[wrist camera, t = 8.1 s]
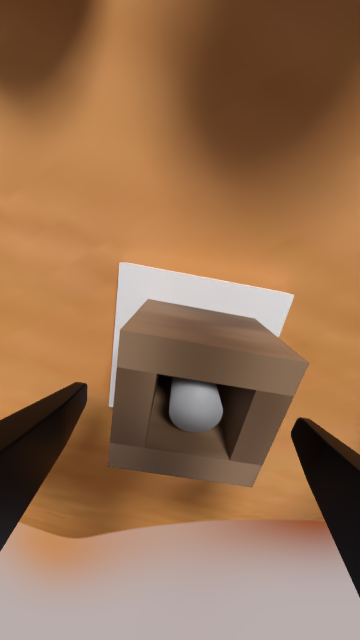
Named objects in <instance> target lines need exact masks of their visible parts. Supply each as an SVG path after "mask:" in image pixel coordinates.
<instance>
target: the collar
mask: <svg viewBox="0 0 360 640" xmlns="http://www.w3.org/2000/svg"><path fill="white" fill-rule="evenodd" d="M308 365H309V362H308V361H306V360H305V359H304V358H303V357H301V356H300V355H299V354H298V353H297V352H295V351H294V350H293V349H292V348H290V347H289V346H288V345H287V344H285V343H284V342H283V341H282V340H281V339H279V338H278V337H277V336H276V335H274V334H273V333H272V332H271V331H270V330H268V329H267V328H266V327H265V326H263V325H262V324H261V323H260V322H258V321H257V320H256V319H255V318H250V317H245V316H239V315H234V314H228V313H223V312H217V311H212V310H206V309H201V308H195V307H190V306H184V305H179V304H173V303H168V302H163V301H157V300H152V299H147V301H146V302H145V303H144V304H143V305H142V306H141V307H140V308H139V309H138V310H137V312H136V313H135V314H134V315H133V316H132V317H131V318H130V319H129V320H128V321H127V323H126V324H125V325H124V326H123V327H122V328H121V329H120V335H119V347H118V358H117V370H116V381H115V392H114V404H113V415H112V427H111V438H110V450H109V461H108V467H114V468H121V469H128V470H135V471H142V472H149V473H156V474H163V475H170V476H177V477H184V478H191V479H197V480H204V481H211V482H218V483H225V484H232V485H239V486H246V487H253V485H254V482H255V480H256V478H257V476H258V474H259V471H260V469H261V467H262V465H263V463H264V461H265V458H266V456H267V454H268V452H269V450H270V447H271V445H272V443H273V441H274V439H275V437H276V434H277V432H278V430H279V428H280V426H281V423H282V421H283V419H284V417H285V415H286V413H287V410H288V408H289V406H290V404H291V402H292V399H293V397H294V395H295V393H296V391H297V389H298V386H299V384H300V382H301V380H302V378H303V375H304V373H305V371H306V369H307V367H308ZM159 374H162V375H168V376H174V377H180V378H186V379H192V380H198V381H204V382H210V383H216V385H217V389H218V393H219V397H220V400H221V404H222V408H223V414H222V417H221V420H220V421H219V423H218V424H217V425H216V426H214V427H213V428H211V429H210V430H207V431H204V432H198V433H193V432H187V431H184V430H182V429H180V428H178V427H177V426H176V425H175V424H174V423H173V422H172V420H171V418H170V415H169V406H170V395H171V385H172V377H167V376H161V375H159Z"/></svg>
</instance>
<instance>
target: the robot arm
mask: <svg viewBox="0 0 360 640" xmlns="http://www.w3.org/2000/svg"><path fill="white" fill-rule="evenodd" d="M86 402H87V384H86V383H81V382H75V383H73V384H71V385H69V386H67V387H65V388H63V389H61V390H59V391H57V392H55V393H53V394H51V395H49V396H47V397H45V398H43V399H41V400H39V401H37V402H35V403H33V404H31V405H29V406H27V407H26V408H24V409H22V410H20V411H18V412H16V413H14V414H12V415H10V416H8V417H6V418H4V419H2V420H0V551H1V549H2V548H3V546H4V545H5V543H6V541H7V539H8V538H9V536H10V535H11V533H12V531H13V530H14V528H15V527H16V525H17V523H18V522H19V520H20V519H21V517H22V515H23V514H24V512H25V511H26V509H27V507H28V506H29V504H30V502H31V501H32V499H33V498H34V496H35V494H36V493H37V491H38V489H39V488H40V486H41V485H42V483H43V481H44V480H45V478H46V476H47V475H48V473H49V472H50V470H51V468H52V467H53V465H54V463H55V462H56V460H57V459H58V457H59V455H60V454H61V452H62V450H63V449H64V447H65V445H66V443H67V442H68V440H69V438H70V436H71V434H72V432H73V430H74V428H75V426H76V424H77V421H78V419H79V417H80V415H81V413H82V411H83V409H84V407H85V405H86ZM291 438H292V441H293V443H294V446H295V449H296V452H297V454H298V457H299V460H300V463H301V465H302V468H303V471H304V474H305V476H306V479H307V481H308V484H309V486H310V488H311V490H312V493H313V495H314V497H315V499H316V501H317V504H318V506H319V508H320V510H321V513H322V515H323V517H324V519H325V521H326V524H327V526H328V528H329V530H330V533H331V534H332V537H333V539H334V541H335V544H336V546H337V548H338V550H339V553H340V555H341V557H342V559H343V561H344V564H345V566H346V568H347V570H348V572H349V575H350V577H351V579H352V581H353V584H354V586H355V588H356V590H357V592H358V594H359V597H360V455H359V454H358V453H356V452H355V451H354V450H352V449H351V448H349V447H348V446H347V445H345V444H344V443H342V442H341V441H340V440H338V439H337V438H335V437H334V436H333V435H331V434H330V433H328V432H327V431H326V430H324V429H323V428H321V427H320V426H319V425H317V424H316V423H314V422H313V421H312V420H310V419H307V418H301V417H300V418H298V419H297V420H296V422H295V424H294V426H293V429H292V431H291Z"/></svg>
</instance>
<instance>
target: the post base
mask: <svg viewBox="0 0 360 640" xmlns="http://www.w3.org/2000/svg"><path fill="white" fill-rule="evenodd" d="M293 298H294V295H292V294H289V293H286V292H282V291H277V290H271V289H266V288H261V287H255V286H250V285H245V284H239V283H234V282H229V281H223V280H218V279H213V278H207V277H202V276H197V275H191V274H186V273H181V272H175V271H170V270H165V269H159V268H154V267H149V266H143V265H138V264H133V263H127V262H120V265H119V279H118V292H117V305H116V318H115V332H114V345H113V358H112V371H111V385H110V398H109V407H113V404H114V392H115V381H116V370H117V358H118V347H119V335H120V329H121V328H122V327H123V326H124V325H125V324H126V323H127V321H128V320H129V319H130V318H131V317H132V316H133V315H134V314H135V313H136V312H137V310H138V309H139V308H140V307H141V306H142V305H143V304H144V303H145V302H146V301H147V299H152V300H157V301H163V302H168V303H173V304H179V305H184V306H190V307H195V308H201V309H206V310H212V311H217V312H223V313H228V314H234V315H239V316H245V317H250V318H255V319H256V320H257V321H258V322H260V323H261V324H262V325H263V326H265V327H266V328H267V329H268V330H270V331H271V332H272V333H273V334H274V335H276V336H277V337H278V338H279V335H280V332H281V330H282V327H283V324H284V322H285V319H286V317H287V314H288V311H289V309H290V306H291V303H292V301H293ZM159 375H161V376H167V377H172V385H171V395H170V406H169V415H170V418H171V420H172V422H173V423H174V424H175V425H176V426H177V427H178V428H180V429H182V430H184V431H187V432H193V433H198V432H204V431H207V430H210V429H211V428H213V427H214V426H216V425H217V424H218V423H219V421H220V420H221V417H222V414H223V408H222V404H221V400H220V397H219V393H218V389H217V385H216V383H210V382H204V381H198V380H192V379H186V378H180V377H174V376H168V375H162V374H159Z"/></svg>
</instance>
